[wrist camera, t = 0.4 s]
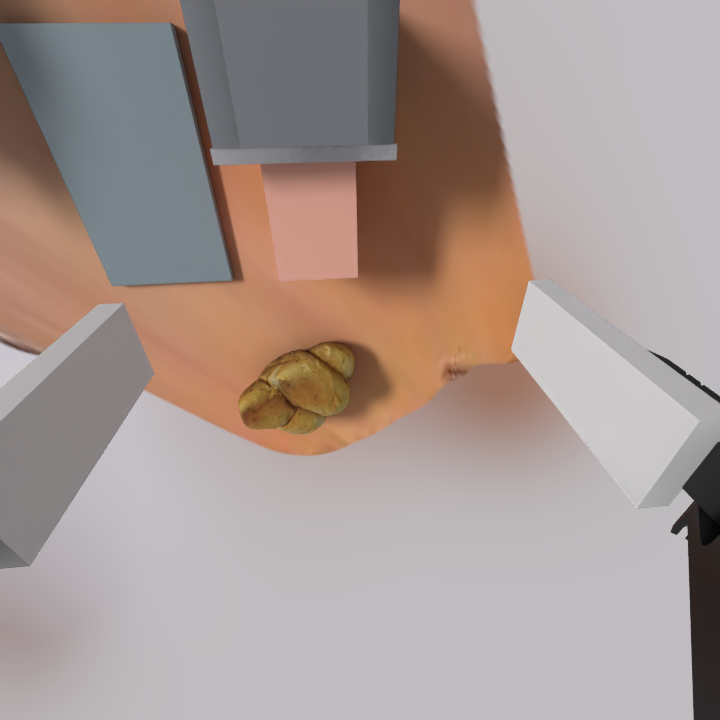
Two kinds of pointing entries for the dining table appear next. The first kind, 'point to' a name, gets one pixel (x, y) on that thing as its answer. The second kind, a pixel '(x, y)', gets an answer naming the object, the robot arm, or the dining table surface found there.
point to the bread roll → (300, 389)
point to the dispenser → (296, 78)
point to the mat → (125, 145)
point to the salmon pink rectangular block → (313, 219)
